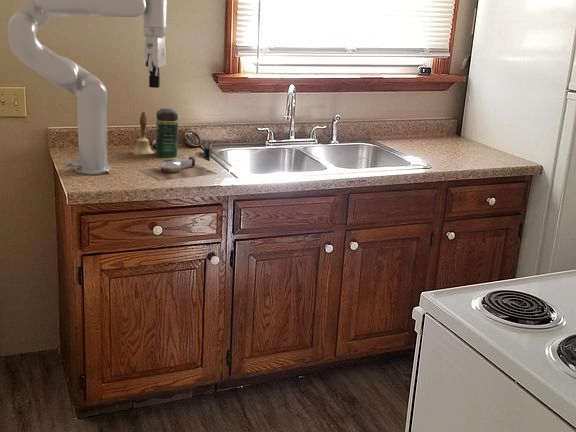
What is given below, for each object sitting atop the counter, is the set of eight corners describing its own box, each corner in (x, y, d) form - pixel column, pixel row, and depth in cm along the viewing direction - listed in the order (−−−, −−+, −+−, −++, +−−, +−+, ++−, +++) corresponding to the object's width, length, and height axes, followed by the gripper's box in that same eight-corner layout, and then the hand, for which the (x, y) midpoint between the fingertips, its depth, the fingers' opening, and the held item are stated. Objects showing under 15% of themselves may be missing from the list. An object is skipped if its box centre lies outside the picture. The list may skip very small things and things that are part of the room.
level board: (158, 184, 232) (158, 180, 231) (138, 173, 243) (138, 169, 242) (217, 177, 245) (218, 173, 245) (196, 167, 256) (196, 163, 256)
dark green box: (203, 140, 279) (204, 148, 264) (211, 141, 279) (212, 148, 265) (203, 153, 280) (203, 161, 266) (211, 153, 280) (211, 161, 266)
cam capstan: (169, 173, 239) (169, 164, 238) (156, 169, 243) (156, 160, 242) (200, 167, 250) (201, 158, 249) (187, 163, 254) (187, 154, 253)
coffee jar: (178, 160, 263) (179, 112, 258) (157, 160, 261) (157, 111, 255) (175, 154, 272) (176, 107, 266) (155, 154, 270) (155, 106, 264)
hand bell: (140, 149, 276) (140, 109, 271) (157, 153, 273) (158, 112, 268) (127, 153, 269) (127, 112, 264) (145, 156, 266) (145, 115, 261)
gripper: (158, 34, 228) (158, 91, 233) (172, 32, 242) (171, 85, 248) (136, 32, 229) (136, 89, 234) (151, 30, 243) (150, 83, 248)
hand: (154, 87), depth 241 cm, fingers closed
